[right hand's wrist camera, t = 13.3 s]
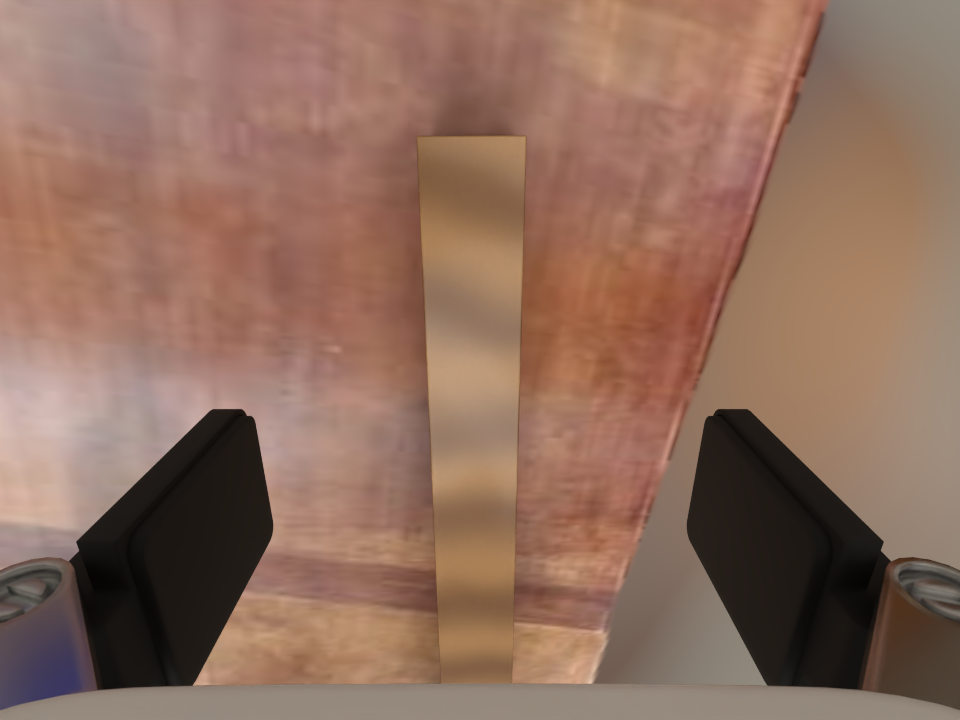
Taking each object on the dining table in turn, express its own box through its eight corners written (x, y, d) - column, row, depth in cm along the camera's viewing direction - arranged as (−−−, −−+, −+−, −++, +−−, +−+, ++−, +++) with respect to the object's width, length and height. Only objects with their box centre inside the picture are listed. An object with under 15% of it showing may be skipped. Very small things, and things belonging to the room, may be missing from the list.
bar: (429, 138, 33) (416, 135, 26) (516, 137, 33) (526, 135, 26) (452, 766, 56) (448, 855, 49) (504, 765, 56) (507, 855, 49)
